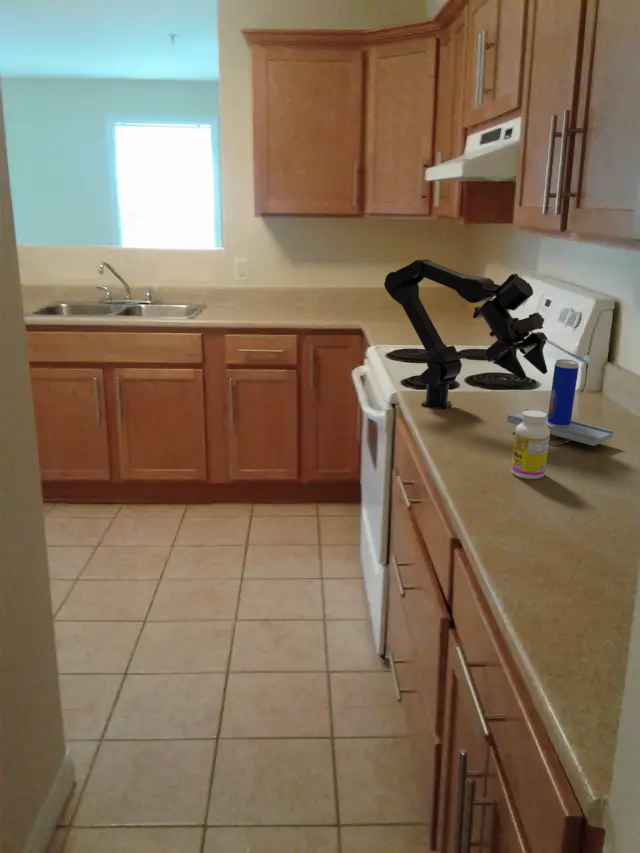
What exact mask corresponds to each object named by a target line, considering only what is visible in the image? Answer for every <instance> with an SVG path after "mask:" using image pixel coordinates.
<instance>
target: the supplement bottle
mask: <svg viewBox="0 0 640 853" xmlns="http://www.w3.org/2000/svg"><path fill="white" fill-rule="evenodd" d="M522 412H523V414H522V420H523V423H520V424H519V425H517V426H516V427H515V433H514V442H513V449H512V456H511V457H512V458H511V468H510V471H511V472H512V474H513V475H514V476H516V477H519V478H521V479H525V480H537V479H541V478H543V477H544V476H545V474H546V468H547V460H548V451H549V445H550V444H549V437H550V430H549V428H548V427H547V426H546V425H545V422H546V421H547V414H548V413H547V414H546V412H544V411H541V410H535V411H534V409H531V410H529V411H526V410H524V411H522Z"/></svg>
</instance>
